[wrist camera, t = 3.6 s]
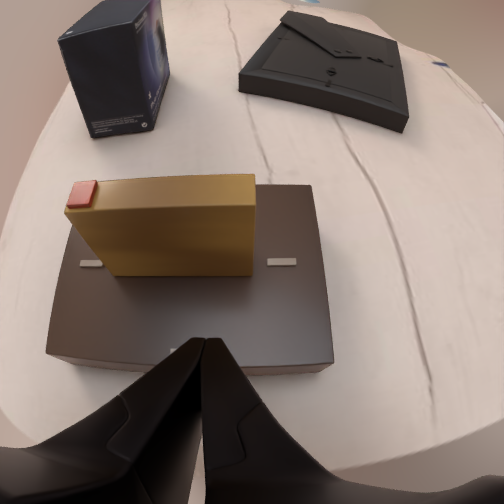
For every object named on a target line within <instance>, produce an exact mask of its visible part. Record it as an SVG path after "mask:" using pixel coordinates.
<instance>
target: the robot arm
mask: <svg viewBox="0 0 504 504" xmlns="http://www.w3.org/2000/svg"><path fill="white" fill-rule="evenodd" d="M119 395H120V396H119ZM119 395H117V396H116V397H114V398H113V399H112V400H110V401H109V402H108V403H106V404H105V405H104V406H102V407H101V408H99V409H98V410H96V411H95V412H94V413H92V414H90V415H89V416H87V417H86V418H84V419H82V420H81V421H79V422H77V423H76V424H74V425H72V426H70V427H69V428H67V429H65V430H63V431H62V432H60V433H58V434H56V435H55V436H53V437H51V438H49V439H47V440H46V441H44V442H42V443H40V444H38V445H35V446H32V447H27V448H8V447H0V504H188V499H189V494H190V489H191V483H192V479H193V474H194V469H195V464H196V459H197V454H198V449H199V444H200V439H201V435H202V434H203V452H204V468H205V484H206V496H205V504H504V476H496V475H486V476H482V477H480V478H477V479H475V480H472V481H470V482H468V483H466V484H464V485H461V486H459V487H456V488H453V489H450V490H445V491H441V492H431V493H419V492H408V491H401V490H394V489H386V488H381V487H375V486H369V485H364V484H359V483H354V482H349V481H345V480H343V479H340V478H339V477H337V476H335V475H333V474H332V473H330V472H329V471H328V470H326V469H325V468H324V467H323V466H322V465H321V464H320V463H319V462H318V461H316V460H315V459H314V458H313V457H312V456H311V455H310V454H309V453H308V452H307V451H306V450H305V449H304V448H303V447H302V446H301V445H300V444H299V443H298V442H296V441H295V440H294V439H293V438H292V437H291V436H290V435H289V433H288V432H287V431H286V430H285V429H284V428H283V427H282V426H281V425H280V424H279V423H278V421H277V420H276V419H275V417H274V416H273V415H272V414H271V412H270V411H269V409H268V408H267V407H266V405H265V404H264V402H263V401H262V399H261V398H260V397H259V395H258V394H257V392H256V391H255V389H254V388H253V386H252V385H251V383H250V382H249V380H248V379H247V377H246V376H245V374H244V372H243V371H242V369H241V368H240V366H239V365H238V363H237V362H236V360H235V359H234V357H233V355H232V354H231V352H230V351H229V349H228V348H227V346H226V344H225V343H224V341H223V340H222V338H207V339H206V338H203V337H192V338H190V339H189V340H188V341H186V342H185V343H184V344H183V345H181V346H180V347H179V348H177V349H176V350H175V351H174V352H172V353H171V354H170V355H169V356H167V357H166V358H165V359H164V360H162V361H161V362H160V363H158V364H157V365H156V366H155V367H153V368H152V369H151V370H150V371H148V372H147V373H146V374H144V375H143V376H142V377H141V378H139V379H138V380H137V381H135V382H134V383H133V384H131V385H130V386H129V387H128V388H126V389H125V390H124V391H122V392H121V393H120V394H119Z"/></svg>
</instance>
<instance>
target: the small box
mask: <svg viewBox="0 0 504 504" xmlns="http://www.w3.org/2000/svg"><path fill="white" fill-rule="evenodd" d="M57 41H58V44H59V46H60V50H61V54H62V57H63V60H64V63H65V66H66V70H67V72H68V75H69V78H70V81H71V84H72V87H73V89H74V92H75V95H76V97H77V100H78V103H79V106H80V109H81V111H82V114H83V117H84V120H85V123H86V126H87V128H88V131H89V134H90V137H91V138H96V137H101V136H108V135H114V134H122V133H130V132H139V131H146V130H152V129H153V128H154V124H155V121H156V117H157V114H158V110H159V107H160V103H161V100H162V97H163V94H164V91H165V87H166V84H167V81H168V78H169V75H170V70H169V63H168V56H167V49H166V41H165V34H164V26H163V18H162V10H161V0H105V1H102V2H100V3H99V4H98V5H97V6H95V7H94V8H93V9H92V10H90V11H89V12H88V13H87V14H85V15H84V16H83V17H82V18H81V19H80V20H78V21H77V22H76V23H75V24H74V25H73V26H72V27H70V28H69V29H68V30H67V31H66V32H65V33H64V34H63V35H62V36H61V37H59V38H58V40H57Z"/></svg>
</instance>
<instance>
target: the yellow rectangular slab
mask: <svg viewBox="0 0 504 504" xmlns="http://www.w3.org/2000/svg"><path fill="white" fill-rule="evenodd" d="M64 214H65V215H66V217H67V218H68V219H69V221H70V222H71V223H72V225H73V226H74V227H75V229H76V230H77V231H78V233H79V234H80V235H81V237H82V238H83V239H84V240H85V242H86V243H87V244H88V246H89V247H90V248H91V249H92V251H93V252H94V253H95V254H96V256H97V257H98V258H99V259H100V261H101V262H102V263H103V264H104V266H105V267H106V268H107V269H108V270H109V272H110V273H111V274H112V275H113V276H252V275H253V263H254V241H255V219H256V188H255V175H254V174H218V175H188V176H167V177H150V178H136V179H123V180H111V181H100V182H97V181H96V180H92V181H83V182H75V183H74V185H73V188H72V190H71V193H70V196H69V199H68V202H67V204H66V208H65V211H64Z"/></svg>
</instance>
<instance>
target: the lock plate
mask: <svg viewBox="0 0 504 504" xmlns="http://www.w3.org/2000/svg"><path fill="white" fill-rule="evenodd" d="M255 188H256V219H255V241H254V263H253V275H252V276H113V275H112V274H111V273H110V272H109V270H108V269H107V268H106V267H105V266H104V264H103V263H102V262H101V261H100V259H99V258H98V257H97V256H96V254H95V253H94V252H93V251H92V249H91V248H90V247H89V246H88V244H87V243H86V242H85V240H84V239H83V238H82V237H81V235H80V234H79V233H78V231H77V230H76V229H75V227H74V226H73V225H72V227H71V231H70V234H69V238H68V241H67V245H66V249H65V253H64V257H63V261H62V265H61V269H60V273H59V277H58V282H57V287H56V291H55V296H54V301H53V307H52V312H51V318H50V324H49V331H48V337H47V345H46V354H48V355H51V356H53V357H56V358H58V359H61V360H63V361H66V362H68V363H71V364H74V365H81V366H89V367H97V368H105V369H114V370H124V371H135V372H148V371H150V370H151V369H152V368H153V367H155V366H156V365H157V364H158V363H160V362H161V361H162V360H164V359H165V358H166V357H167V356H169V355H170V354H171V353H172V352H174V351H175V350H176V349H177V348H179V347H180V346H181V345H183V344H184V343H185V342H186V341H188V340H189V339H190V338H192V337H203V338H206V339H207V338H222V340H223V341H224V343H225V344H226V346H227V348H228V349H229V351H230V352H231V354H232V355H233V357H234V359H235V360H236V362H237V363H238V365H239V366H240V368H241V369H242V371H243V372H244V374H245V375H278V374H297V373H312V372H320V371H322V370H323V369H325V368H327V367H328V366H330V365H332V364H333V363H334V353H333V342H332V332H331V322H330V313H329V304H328V295H327V287H326V279H325V272H324V264H323V257H322V250H321V243H320V236H319V229H318V223H317V217H316V211H315V204H314V199H313V193H312V187H311V185H255Z"/></svg>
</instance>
